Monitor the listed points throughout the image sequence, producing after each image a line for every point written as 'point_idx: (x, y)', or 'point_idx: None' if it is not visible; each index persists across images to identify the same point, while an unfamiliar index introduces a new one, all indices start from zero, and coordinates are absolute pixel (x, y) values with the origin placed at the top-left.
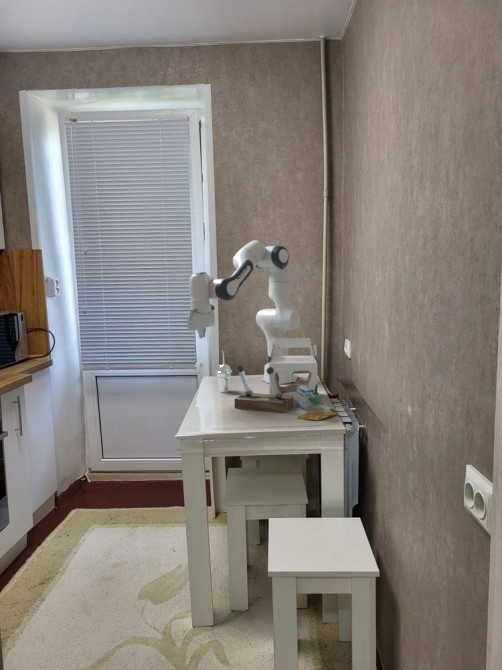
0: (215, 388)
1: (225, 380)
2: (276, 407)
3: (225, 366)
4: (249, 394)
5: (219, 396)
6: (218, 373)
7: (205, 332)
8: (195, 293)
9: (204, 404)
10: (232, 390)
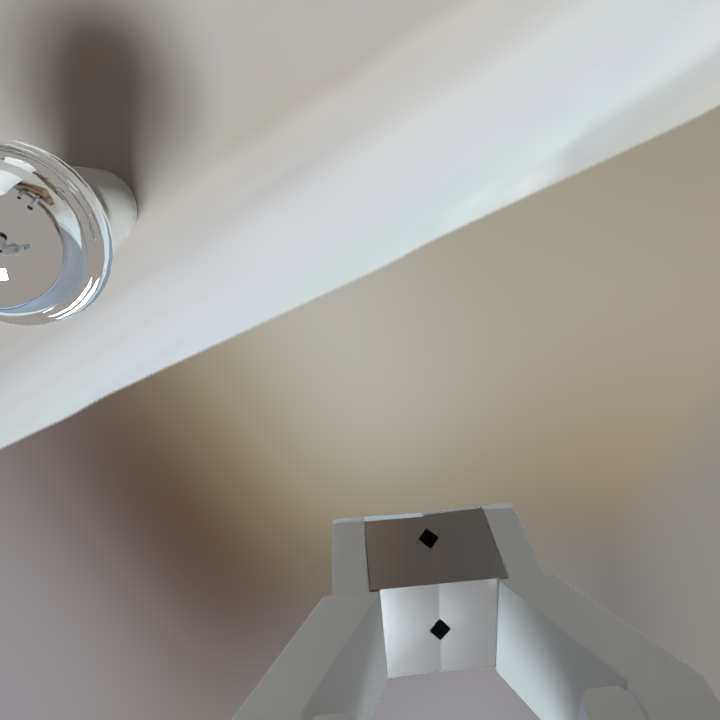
0: None
1: (87, 182)
2: None
3: (2, 202)
4: None
5: (250, 159)
6: (111, 248)
7: (312, 628)
8: None
9: (491, 147)
10: None
